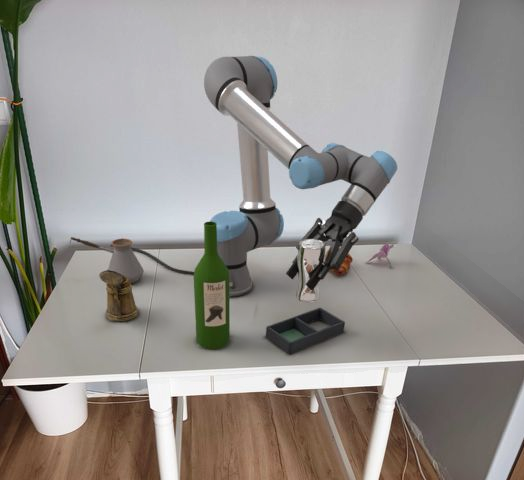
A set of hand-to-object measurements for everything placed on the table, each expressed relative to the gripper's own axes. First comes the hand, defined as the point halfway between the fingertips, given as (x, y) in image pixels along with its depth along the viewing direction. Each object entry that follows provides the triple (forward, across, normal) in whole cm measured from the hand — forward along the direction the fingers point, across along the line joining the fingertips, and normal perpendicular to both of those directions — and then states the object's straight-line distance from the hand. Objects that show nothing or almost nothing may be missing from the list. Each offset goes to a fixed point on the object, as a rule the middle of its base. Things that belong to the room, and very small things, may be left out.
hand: (299, 281), depth 127 cm
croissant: (-19, +29, -44) cm, 56 cm away
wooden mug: (+36, +37, +12) cm, 53 cm away
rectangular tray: (+9, 0, -15) cm, 18 cm away
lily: (-30, +21, -55) cm, 66 cm away
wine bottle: (+26, +12, +1) cm, 28 cm away
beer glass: (+2, 0, -6) cm, 7 cm away
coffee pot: (+31, +62, +6) cm, 70 cm away
